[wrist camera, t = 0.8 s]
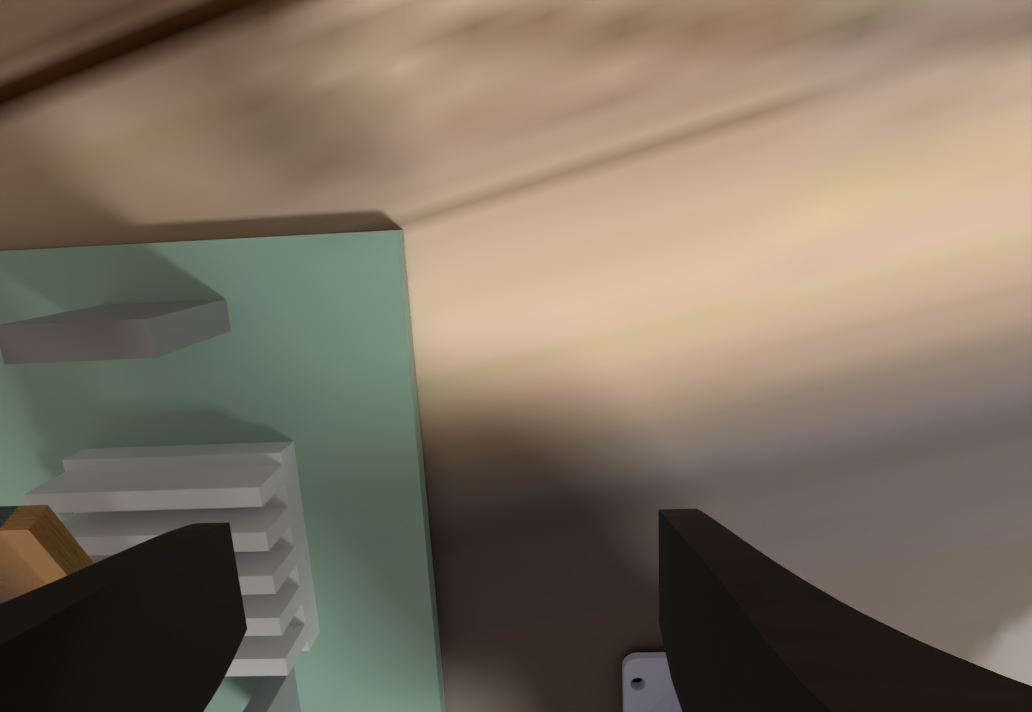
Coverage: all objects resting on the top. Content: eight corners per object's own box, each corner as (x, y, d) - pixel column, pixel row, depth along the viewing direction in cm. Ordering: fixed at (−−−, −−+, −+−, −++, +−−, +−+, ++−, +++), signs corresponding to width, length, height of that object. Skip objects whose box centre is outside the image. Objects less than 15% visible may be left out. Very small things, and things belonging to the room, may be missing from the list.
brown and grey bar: (261, 746, 20) (240, 810, 19) (155, 747, 21) (127, 811, 19) (66, 481, 13) (6, 556, 11) (-99, 487, 13) (-179, 561, 11)
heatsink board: (450, 765, 23) (427, 902, 19) (72, 768, 24) (-41, 900, 19) (402, 229, 19) (357, 233, 14) (-57, 254, 20) (-242, 265, 15)
